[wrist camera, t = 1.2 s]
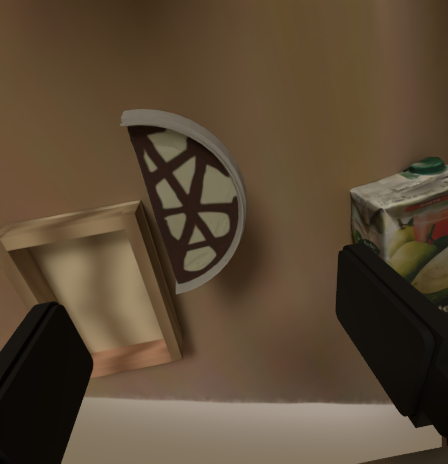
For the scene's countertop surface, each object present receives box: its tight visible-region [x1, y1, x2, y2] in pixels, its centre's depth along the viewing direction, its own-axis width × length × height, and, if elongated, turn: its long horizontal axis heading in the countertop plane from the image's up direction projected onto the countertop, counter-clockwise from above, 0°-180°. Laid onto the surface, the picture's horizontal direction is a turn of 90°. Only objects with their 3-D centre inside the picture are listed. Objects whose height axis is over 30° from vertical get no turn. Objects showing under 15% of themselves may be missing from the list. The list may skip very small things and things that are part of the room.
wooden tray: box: [0, 200, 183, 378], centre depth 29 cm, size 12×18×3 cm
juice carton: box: [350, 157, 448, 316], centre depth 30 cm, size 20×10×6 cm, turn 17°
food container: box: [120, 109, 247, 295], centre depth 21 cm, size 12×6×10 cm, turn 10°
